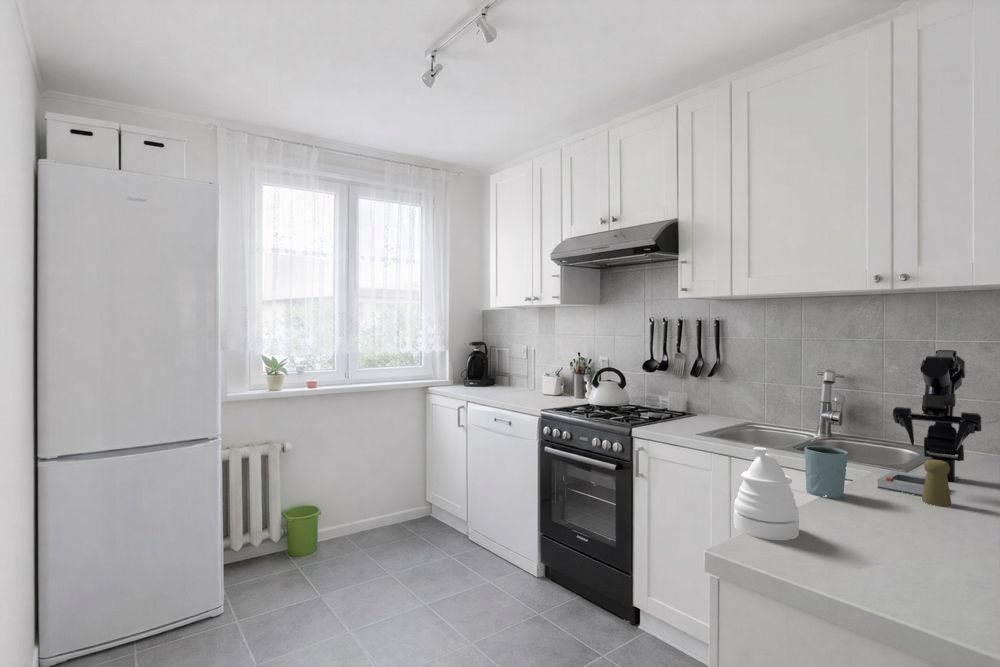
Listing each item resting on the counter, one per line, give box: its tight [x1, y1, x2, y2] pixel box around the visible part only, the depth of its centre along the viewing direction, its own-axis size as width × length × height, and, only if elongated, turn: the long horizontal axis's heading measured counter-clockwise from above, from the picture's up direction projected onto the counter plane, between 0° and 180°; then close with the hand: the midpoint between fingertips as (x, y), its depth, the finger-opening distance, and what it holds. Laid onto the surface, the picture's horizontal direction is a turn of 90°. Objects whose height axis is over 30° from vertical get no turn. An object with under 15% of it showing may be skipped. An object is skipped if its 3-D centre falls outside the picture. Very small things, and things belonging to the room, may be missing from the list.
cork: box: [921, 459, 952, 508], centre depth 139 cm, size 6×6×11 cm
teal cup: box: [804, 445, 849, 499], centre depth 146 cm, size 10×10×12 cm
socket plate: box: [877, 470, 926, 497], centre depth 152 cm, size 14×12×3 cm
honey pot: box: [733, 446, 800, 541], centre depth 119 cm, size 13×13×18 cm
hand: (933, 447), depth 145 cm, fingers open, 9 cm apart
